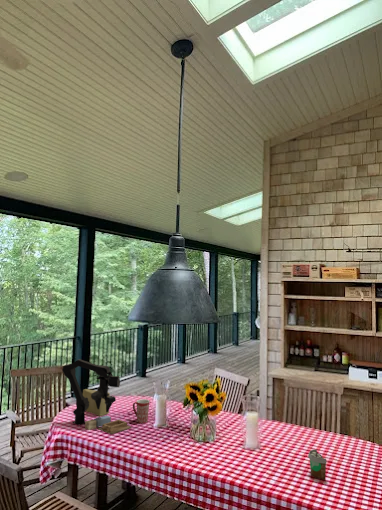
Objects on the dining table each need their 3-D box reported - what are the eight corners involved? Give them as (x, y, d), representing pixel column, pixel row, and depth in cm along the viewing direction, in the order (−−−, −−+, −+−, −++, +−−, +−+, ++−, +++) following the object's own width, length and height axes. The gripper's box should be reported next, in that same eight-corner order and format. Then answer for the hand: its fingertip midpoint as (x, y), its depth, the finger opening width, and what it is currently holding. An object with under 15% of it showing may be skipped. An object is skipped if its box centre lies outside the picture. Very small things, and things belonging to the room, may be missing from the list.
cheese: (77, 411, 286) (78, 389, 288) (87, 408, 294) (88, 387, 296) (99, 417, 275) (100, 394, 276) (109, 413, 283) (110, 391, 284)
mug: (151, 421, 268) (152, 400, 269) (143, 424, 260) (143, 403, 262) (137, 417, 275) (138, 397, 276) (128, 421, 267) (129, 400, 269)
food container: (304, 469, 200) (304, 448, 201) (316, 469, 200) (316, 448, 201) (314, 481, 188) (313, 459, 189) (326, 481, 188) (326, 459, 189)
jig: (97, 429, 251) (97, 424, 251) (117, 423, 263) (117, 418, 263) (111, 434, 242) (112, 429, 242) (131, 428, 254) (131, 423, 254)
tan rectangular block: (85, 428, 251) (85, 421, 252) (92, 426, 255) (92, 419, 256) (88, 430, 249) (89, 422, 249) (96, 428, 253) (96, 420, 253)
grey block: (93, 425, 257) (94, 417, 257) (106, 422, 264) (106, 414, 265) (97, 427, 254) (97, 419, 254) (110, 424, 261) (110, 416, 262)
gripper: (84, 385, 261) (83, 410, 260) (102, 390, 249) (101, 416, 248) (98, 382, 269) (97, 406, 268) (116, 387, 257) (115, 412, 256)
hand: (102, 410), depth 260 cm, fingers open, 9 cm apart
